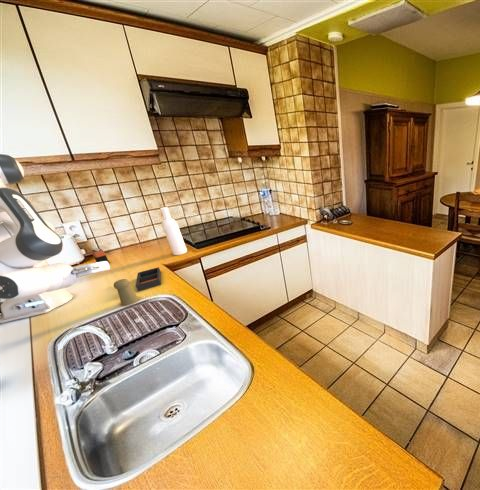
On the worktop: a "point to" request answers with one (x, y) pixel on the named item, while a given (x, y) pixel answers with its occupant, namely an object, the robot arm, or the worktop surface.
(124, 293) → the cork
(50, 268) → the robot arm
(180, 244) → the bottle
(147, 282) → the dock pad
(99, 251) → the battery
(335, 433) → the worktop surface
